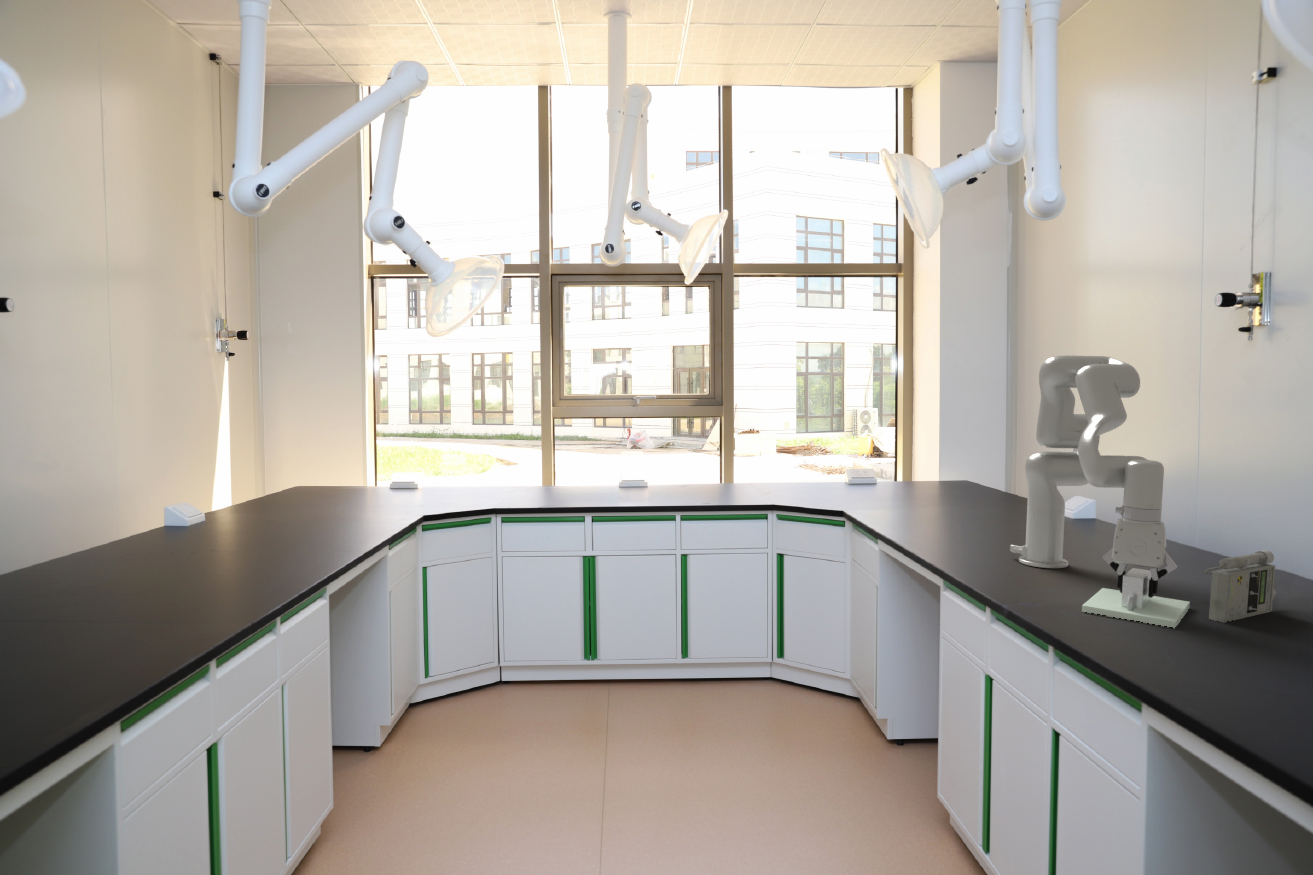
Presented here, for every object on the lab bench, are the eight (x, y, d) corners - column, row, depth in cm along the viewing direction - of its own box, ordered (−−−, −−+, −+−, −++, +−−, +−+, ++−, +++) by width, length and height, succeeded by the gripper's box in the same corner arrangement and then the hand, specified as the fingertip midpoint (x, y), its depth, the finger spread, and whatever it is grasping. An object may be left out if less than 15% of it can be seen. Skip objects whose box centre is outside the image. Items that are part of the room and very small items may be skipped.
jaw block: (1121, 606, 185) (1123, 575, 185) (1131, 597, 193) (1132, 567, 192) (1141, 609, 183) (1143, 578, 182) (1150, 600, 190) (1152, 570, 189)
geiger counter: (1232, 560, 176) (1294, 550, 188) (1201, 554, 182) (1263, 544, 194) (1227, 624, 178) (1289, 609, 189) (1197, 616, 183) (1258, 602, 195)
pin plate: (1081, 611, 186) (1082, 592, 185) (1102, 593, 201) (1103, 575, 201) (1175, 628, 174) (1176, 607, 174) (1189, 608, 190) (1190, 588, 189)
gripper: (1095, 512, 189) (1091, 590, 190) (1183, 521, 178) (1178, 604, 179) (1103, 508, 194) (1099, 584, 196) (1188, 517, 183) (1183, 597, 185)
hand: (1137, 593), depth 187 cm, fingers open, 5 cm apart
